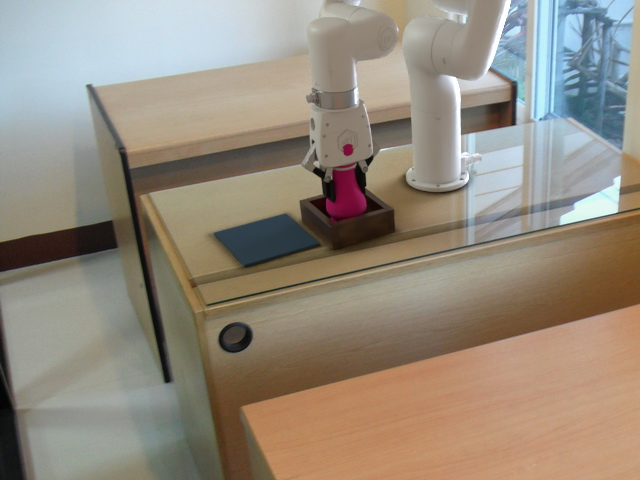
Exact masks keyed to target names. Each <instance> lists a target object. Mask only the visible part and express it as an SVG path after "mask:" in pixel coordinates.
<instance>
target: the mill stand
mask: <svg viewBox="0 0 640 480" xmlns="http://www.w3.org/2000/svg"><path fill="white" fill-rule="evenodd" d="M365 191H366V193H365V194H364V197H365V200H366V210H365V212H364V213H363V215H359V216H356V217H352V218H348V219H345V220H341V221H338V222H332V221H331V220H330V219H331V217H332V216H330V214H329V213H328V212H327V209H326V200H327V198H326V197H325V196H324V195H323V193H322V194H319V195H315V196H311V197H307V198H303V199H299V200H298V201H299V208H300V217H301V223H302V224H303V225H304V226H305V227H306V228H308V229H309V231H311V232H312V233H313V234H314V235H315V236H317V238H319V239H320V240H321V241H322V242H323V243H325V244H326V245H327V246H328V248H330V249H331V250H333V251H334V250H338V249H341V248H345V247H348V246H351V245H355V244H358V243H362V242H365V241H367V240H372V239H375V238H378V237H383V236H385V235H389V234H391V233H395V232H396V220H395V219H396V218H395V209H394V208H393V207H391V206H390V205H389V204H387V202H385V201H384V200H383V199H381V198H380V197H378V196H377V195H376V194H375V193H373V192H371V191H370V190H369V189H368V188H366V187H365Z"/></svg>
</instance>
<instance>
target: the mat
mask: <svg viewBox="0 0 640 480" xmlns="http://www.w3.org/2000/svg"><path fill="white" fill-rule="evenodd" d="M213 235H214V236H215V237H216V239H217V240H218V241H220V243H221V244H222V245H223V246H224V247H225V248H226V249H227V250H228V251H229V252H230V253H231V254H232V255H233V257H235V258H236V260H237V261H238V262H239V263H240V264H241V265H242V266H243V267H244V268H247V267H251V266H255V265H258V264H262V263H264V262H268V261H271V260H275V259H278V258H281V257H286V256H289V255H292V254H295V253H300V252H302V251H305V250H309V249H312V248H315V247H319V246H320V243H319V242H318V241H317V239H315V238H314V237H313V236H312V235H311V234H309V232H308V231H306V230H305V229H304V228H303V227H302V226H301V225H300V224H299V223H298V222H297V221H295V220H294V219H293V218H292V217H291V216H289V215H288V214H287V212H285V213H282V214H279V215H274V216H270V217H266V218H263V219H259V220H255V221H252V222H248V223H244V224H241V225H237V226H233V227H230V228H227V229H226V228H225V229H222V230H219V231H215V232H213Z"/></svg>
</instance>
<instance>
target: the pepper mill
mask: <svg viewBox="0 0 640 480" xmlns="http://www.w3.org/2000/svg"><path fill="white" fill-rule="evenodd" d="M342 149H344V150H342V151H343V153H344V155H345V156H350V155H352V153H353V150H354V148H353V145H352V144H346V145H344V146H343V148H342ZM356 165H357V162H354V163H349V164H346V165H342V166H338V167H333V171H332V176H331V180H333V181H334V184H335V194H336V200H335V202H333V203H332V202H331V201H330V200H328V199H327V200H326V209H327V212H328V213H329V214H330V216H332V217H331V218H329V219H330V220H331V221H332V222H338V221H341V220H345V219H348V218H352V217H356V216H359V215H363V214H364V212H365V210H366V200H365V197H364V194H363V193H362V192H361V189H360V187H359V185H358V183H357V181H356V178H355V172H354V171H355V166H356Z"/></svg>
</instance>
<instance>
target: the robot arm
mask: <svg viewBox="0 0 640 480" xmlns="http://www.w3.org/2000/svg"><path fill="white" fill-rule="evenodd" d="M511 1H512V0H428V2H429V3H430V4H431V5H432V6H433V7H434V8H435V9H437V10H440V11H443V12H446V13H449V14H454V15H458V16H463V17H466V21H465V22H460V21H456V20H454V19H449V18H445V17H440V16H436V15H421V16H417V17H415V18H413V19H412V20H410V21H409V23H407V25H406V26H405V28H404V30H403V33H402V39H401V47H402V53H403V58H404V62H405V67H406V70H407V76H408V77H407V78H408V84H409V98H410V101H409V102H410V120H411V122H410V123H411V124H410V125H411V144H412V145H411V146H412V147H411V148H412V167H410V168H409V169H408V170H407V171H406V173H405V180H406V183H407V184H408V185H409V186H411V187H412V188H414V189H416V190H419V191H423V192H429V193H445V192H451V191H454V190H455V191H456V190H458V189H460V188H463V187H464V186H465V185H466V184H467V183H468V182H469V179H470V178H469V176H470V175H469V170H467V169H468V168H469V166H471V165H477V164H480V163H481V162H482V161H483V159H482V156H481V154H480V153H473V154H469V152H468V151H465V152H462V151H461V150H462V147H461V146H462V145H461V143H462V140H461V137H462V136H461V91H460V87H459V83H458V81H457V79H459V80H462V81H467V82H475V81H478V80H480V79H482V78H483V77H484V76H485V75H486V74H487V73H488V71H489V69H490V67H491V65H492V64H493V60H494V57H495V54H496V52H497V48H498V45H499V42H500V40H501V39H500V38H501V35H502V32H503V29H504V26H505V22H506V20H507V16H508V13H509V9H510V5H511ZM361 2H362V0H323V1H322V4H321V7H320V9H319V13H318V17H317V18H315V19H313V20H311V21H310V22H309V23H308V25H307V28H306V39H307V47H308V57H309V68H310V77H311V85H312V87H311V93H309V94H307V95H306V96H305V99H306V102H307V104H312V105H311V106H310V113H309V146H310V148H309V149H308V151H307V153H306V155H305V157H303V160H302V161H301V163H300V164H301V167H302V168H304V169H305V170H306V171H308V172H310V173H312V174H313V175H315V176H316V177H318V178H320V180H321V190H322V194H323V195H324V196H325V197H326V198H327V199H328V200H330V201H331V202H332V203H333V202H335V200H336V194H335V184H334V181H333V180H332V171H333V167H338V166H342V165H346V164H349V163H354V162H357V165H356V166H355V171H354V172H355V178H356V181H357V183H358V185H359V187H360V189H361V192H362V193H363V194H365V193H366V191H365V188H366V187H367V185H368V184H367V173H368V171H369V167H370V165H371V164H372V163H373V161H374V159H375V158H376V156H377V155H378V154H379V152H381V149H382V148H381V147H382V146H380V145H379V144H378V143H377V142H376V141H375V140H374V139H373V137H372V130H371V125H370V119H369V116H368V111H367V108H366V104H365V101H364V100H363V99H360V93H359V92H360V91H359V81H358V70H357V69H358V68H357V67H358V66H357V64H358V63H359V62H365V61H373V60H379V59H382V58H384V57H387V56H388V55H389V54H391V53H392V52H393V51H394V50H395V48H396V47H397V45H398V41H399V37H400V33H399V27H398V25H397V23H396V21H395V20H394V19H393V18H392V17H391V16H389V15H388V14H386V13H384V12H382V11H378V10H374V9H371V8H367V7H364V6H363V7H362V6H360V4H361ZM346 144H352V145H353V148H354V150H353V153H352V155H350V156H345V155H344V153H343V151H342V150H344V149H342V148H343V146H344V145H346ZM315 161H318V163H319V164H318V166H316V165H314V163H315Z"/></svg>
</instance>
